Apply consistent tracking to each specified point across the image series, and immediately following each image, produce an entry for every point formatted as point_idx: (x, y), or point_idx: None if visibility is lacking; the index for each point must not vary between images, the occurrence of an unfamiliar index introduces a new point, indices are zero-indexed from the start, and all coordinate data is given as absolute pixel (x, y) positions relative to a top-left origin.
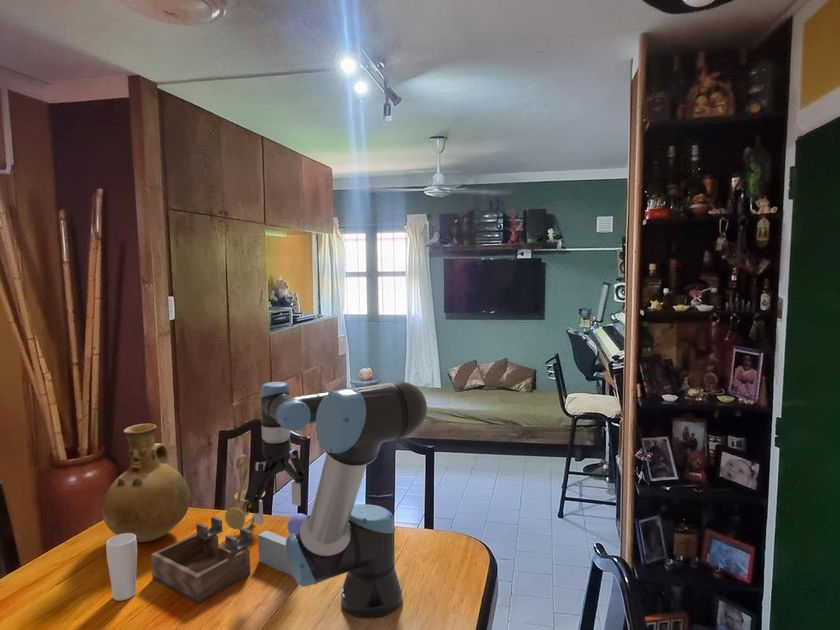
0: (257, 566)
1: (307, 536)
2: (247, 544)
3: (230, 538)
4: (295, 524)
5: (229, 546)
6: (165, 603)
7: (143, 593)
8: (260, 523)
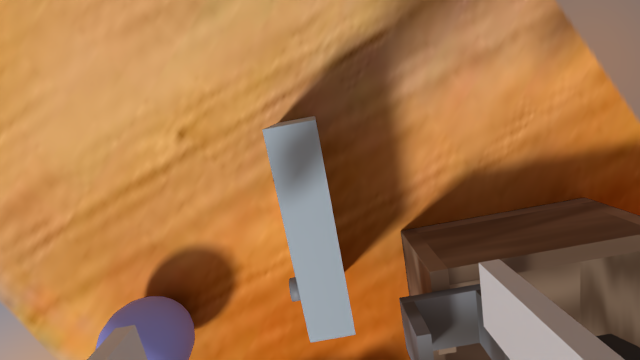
0: (363, 251)
1: None
2: (426, 298)
3: None
4: (165, 337)
5: None
6: None
7: None
8: (505, 269)
